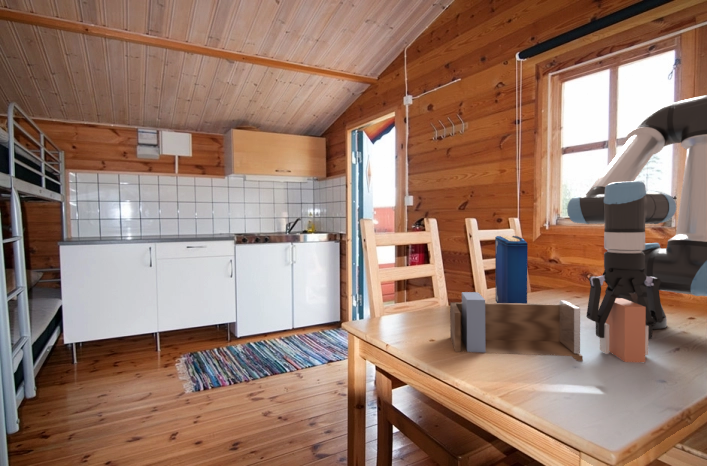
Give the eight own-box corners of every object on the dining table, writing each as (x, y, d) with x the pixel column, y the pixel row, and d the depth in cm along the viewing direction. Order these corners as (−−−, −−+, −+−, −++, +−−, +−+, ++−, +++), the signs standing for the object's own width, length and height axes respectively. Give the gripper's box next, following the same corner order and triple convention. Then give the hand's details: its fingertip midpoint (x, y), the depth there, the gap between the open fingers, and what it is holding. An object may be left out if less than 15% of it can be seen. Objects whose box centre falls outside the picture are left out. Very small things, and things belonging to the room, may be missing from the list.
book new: (622, 348, 90) (622, 298, 90) (645, 362, 82) (645, 307, 81) (603, 348, 91) (604, 298, 91) (624, 361, 82) (624, 306, 82)
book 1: (478, 340, 95) (478, 292, 95) (485, 352, 87) (485, 299, 86) (462, 339, 96) (461, 292, 96) (467, 351, 87) (466, 299, 87)
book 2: (530, 318, 118) (530, 238, 118) (506, 317, 120) (505, 238, 119) (515, 303, 140) (515, 235, 139) (495, 302, 141) (494, 235, 140)
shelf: (563, 344, 94) (563, 304, 94) (582, 360, 83) (582, 315, 83) (450, 341, 98) (450, 302, 98) (455, 356, 87) (454, 312, 87)
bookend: (565, 341, 92) (565, 300, 92) (580, 353, 84) (580, 308, 84) (559, 341, 92) (559, 300, 92) (574, 353, 84) (574, 308, 84)
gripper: (663, 249, 88) (662, 348, 88) (569, 250, 91) (568, 345, 92) (686, 252, 80) (684, 359, 81) (583, 252, 83) (582, 356, 84)
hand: (623, 352), depth 86 cm, fingers open, 7 cm apart
